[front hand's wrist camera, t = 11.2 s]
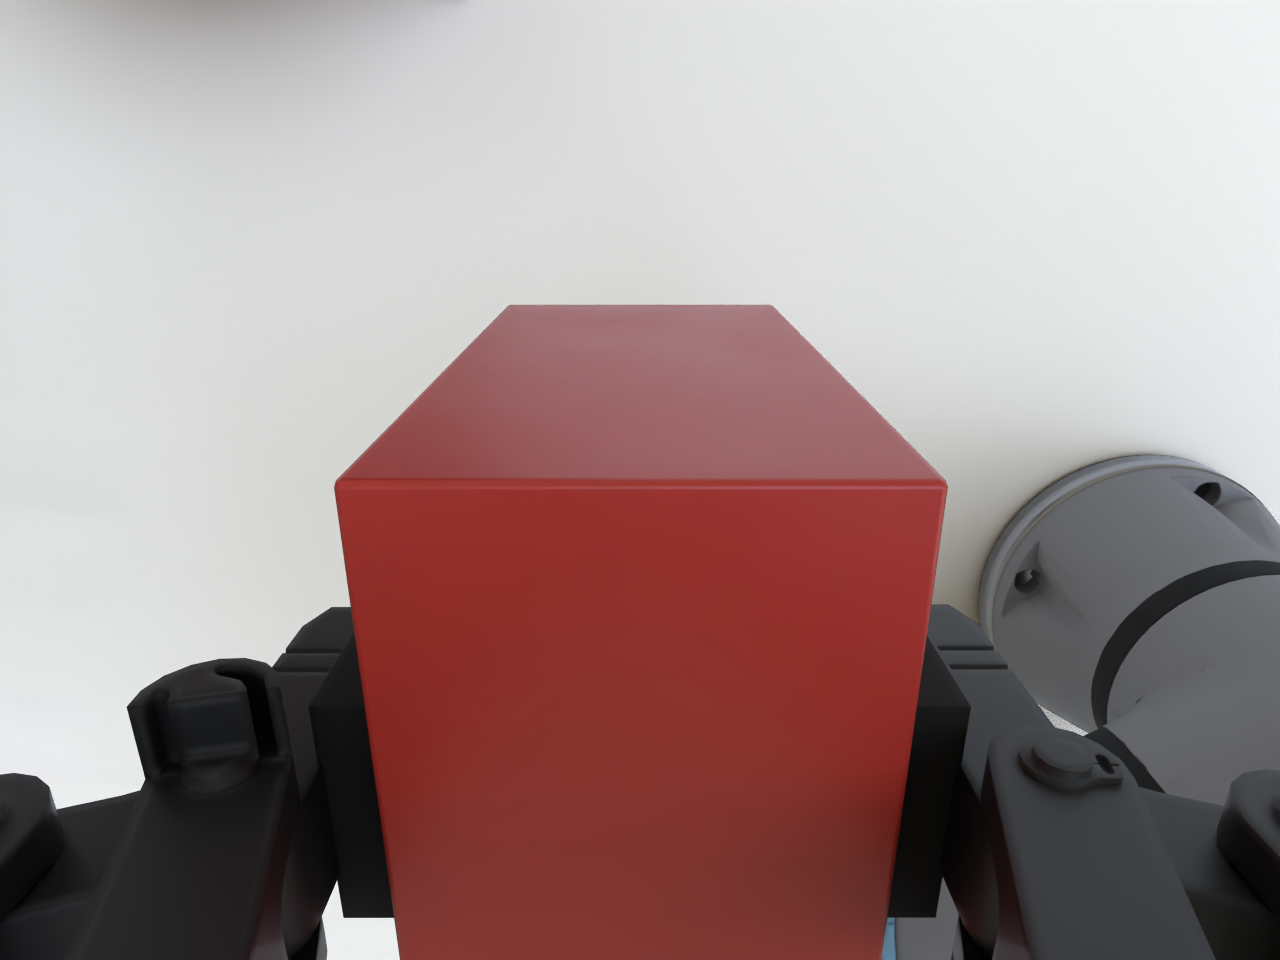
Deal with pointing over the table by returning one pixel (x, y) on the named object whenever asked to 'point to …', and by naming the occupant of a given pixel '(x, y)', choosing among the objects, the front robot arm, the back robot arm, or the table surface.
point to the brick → (640, 641)
